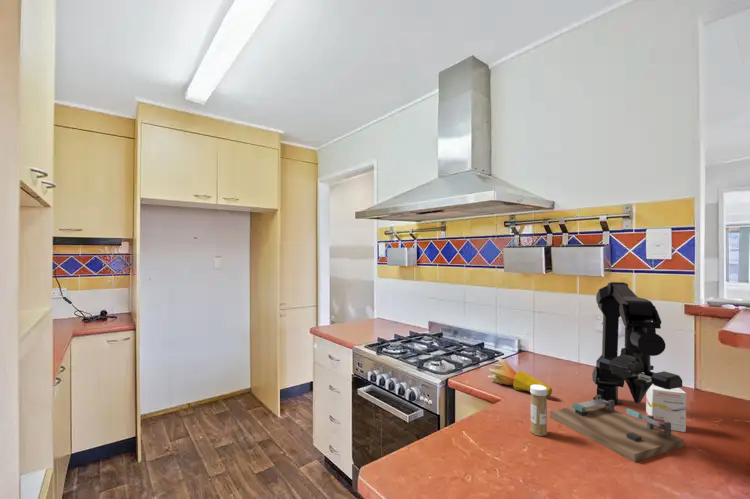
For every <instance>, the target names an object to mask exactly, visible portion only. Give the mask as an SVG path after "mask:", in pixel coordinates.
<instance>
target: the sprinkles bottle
mask: <svg viewBox="0 0 750 499" xmlns="http://www.w3.org/2000/svg"><path fill="white" fill-rule="evenodd" d="M547 397H548V395H547V388H546V387H545V386H542V385H531V386H530V432H531V434H533V435H535V436H539V437H544V436H547V435H548V429H547V428H548V427H547V426H548V408H547V406H548V404H547V401H548V400H547V399H548V398H547Z"/></svg>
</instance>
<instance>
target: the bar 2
mask: <svg viewBox="0 0 750 499" xmlns="http://www.w3.org/2000/svg"><path fill="white" fill-rule="evenodd" d="M625 413H626V415H628V416H631V417H633V418H635V419H636V418H637V419H638V420H639V419H640V421H642V422H643V421H644V422H645V423H647V422H648V423H650V424H652V425H654V426H656V427H659V428H658V429H661V430H663V431H664V424H662V423H660V422H657V421H655V420H653V419H651V418H648V417H646V415H644V414H642V413H640V412H638V411H635V410H634V409H631V408H627V409H626V411H625Z"/></svg>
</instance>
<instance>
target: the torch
mask: <svg viewBox="0 0 750 499" xmlns="http://www.w3.org/2000/svg"><path fill="white" fill-rule="evenodd" d="M497 360H498V362H499V364H497V363H496V364H495V363H494V364H492V366H493V367H494V368H490V367H488V370H489V372H491V374H492V375H491V374H490V375H487V377H488V378H489V379H491V380H493V381H492V382H493V383H496V384H499V385H506V386H507V385H508V386H511V385H513V386H512V387H513V389H514V390H515V391H527V392H530V386H531V385H542V386H545V387H546V388H547V396H550V395H552V394H553V388H552V387H551V386H550V385H548V384H547V383H545V382H543V381H540V380H538V379H537V378H536V377H533V376H532V375H530V374H529V373H527V372H525V371H523V370H519V371H515V369H514V368H513V367H512V366H511V365H510V364H509V363H508V362H507V360H504V359H503V358H500V357H497ZM530 393H531V392H530Z"/></svg>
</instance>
